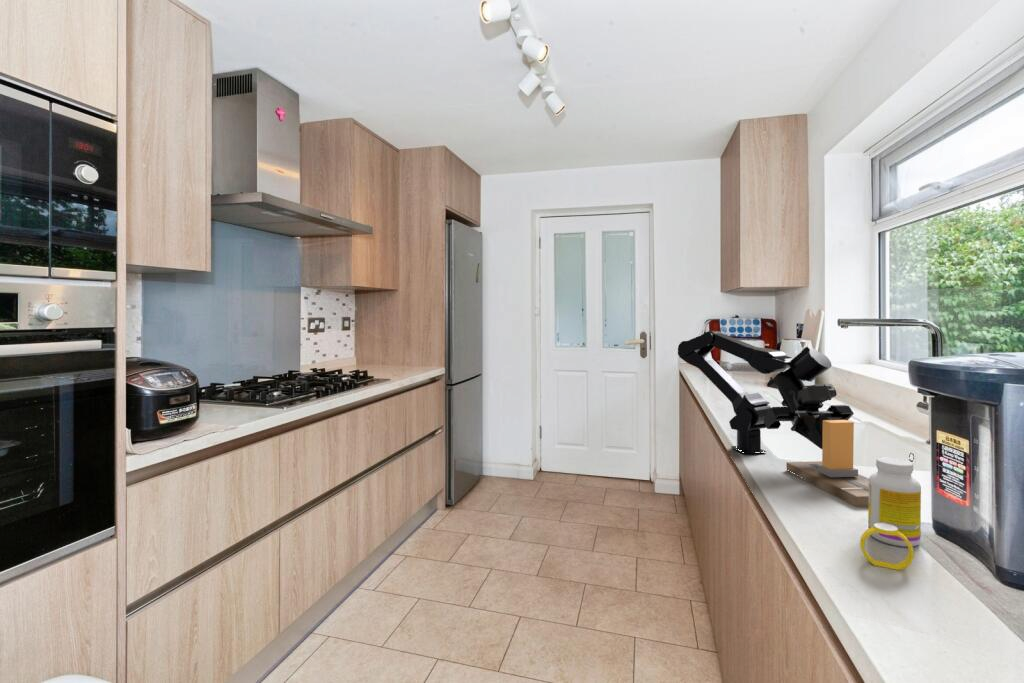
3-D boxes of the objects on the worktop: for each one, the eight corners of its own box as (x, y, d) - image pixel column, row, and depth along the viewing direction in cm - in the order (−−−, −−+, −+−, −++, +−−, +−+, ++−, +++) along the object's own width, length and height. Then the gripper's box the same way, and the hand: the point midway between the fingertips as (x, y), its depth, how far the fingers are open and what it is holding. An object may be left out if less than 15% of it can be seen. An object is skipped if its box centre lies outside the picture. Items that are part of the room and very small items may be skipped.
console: (786, 470, 112) (786, 461, 112) (827, 469, 113) (827, 460, 113) (856, 506, 90) (857, 496, 90) (907, 505, 91) (908, 494, 91)
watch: (863, 567, 69) (860, 527, 69) (860, 559, 72) (857, 520, 72) (916, 575, 66) (912, 532, 66) (911, 566, 69) (908, 525, 69)
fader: (817, 471, 104) (818, 419, 104) (844, 470, 105) (844, 419, 104) (830, 477, 100) (830, 423, 100) (858, 476, 101) (858, 422, 100)
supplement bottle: (931, 548, 74) (933, 467, 73) (888, 549, 74) (889, 467, 74) (897, 529, 81) (899, 455, 80) (858, 530, 81) (859, 455, 80)
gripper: (770, 372, 111) (800, 430, 100) (848, 371, 112) (886, 427, 101) (752, 400, 119) (778, 456, 108) (824, 398, 120) (857, 454, 109)
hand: (824, 448), depth 107 cm, fingers closed
